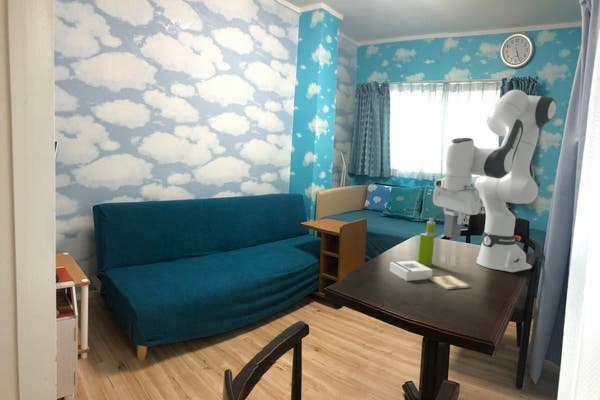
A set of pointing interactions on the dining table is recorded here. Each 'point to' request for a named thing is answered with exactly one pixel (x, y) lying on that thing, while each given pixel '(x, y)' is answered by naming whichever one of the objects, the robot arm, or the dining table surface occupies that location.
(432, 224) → the vape
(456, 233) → the plug
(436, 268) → the dining table surface
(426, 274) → the white flat square piece
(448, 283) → the coaster
